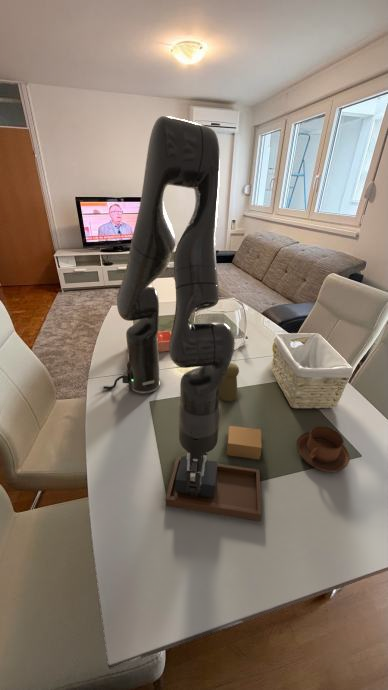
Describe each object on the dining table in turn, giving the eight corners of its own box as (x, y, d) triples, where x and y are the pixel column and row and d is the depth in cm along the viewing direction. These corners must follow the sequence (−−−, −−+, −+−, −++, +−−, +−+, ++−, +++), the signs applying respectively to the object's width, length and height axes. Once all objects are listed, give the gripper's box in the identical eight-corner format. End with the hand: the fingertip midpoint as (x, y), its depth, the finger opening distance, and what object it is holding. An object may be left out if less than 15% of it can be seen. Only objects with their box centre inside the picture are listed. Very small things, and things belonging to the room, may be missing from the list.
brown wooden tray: (165, 505, 61) (165, 499, 60) (176, 463, 70) (176, 457, 69) (260, 521, 59) (261, 514, 58) (258, 475, 68) (259, 469, 67)
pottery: (170, 339, 127) (169, 318, 122) (174, 350, 119) (174, 327, 114) (127, 343, 123) (125, 321, 118) (128, 354, 115) (126, 331, 110)
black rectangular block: (175, 492, 62) (175, 479, 60) (181, 468, 67) (181, 456, 66) (213, 498, 61) (214, 485, 59) (216, 474, 66) (217, 461, 65)
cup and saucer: (343, 485, 66) (350, 465, 63) (289, 461, 72) (294, 442, 69) (350, 449, 75) (357, 431, 72) (302, 430, 81) (306, 413, 78)
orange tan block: (226, 455, 73) (227, 443, 71) (227, 437, 78) (229, 425, 76) (259, 459, 72) (261, 447, 70) (258, 441, 77) (260, 429, 75)
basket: (267, 368, 108) (273, 331, 101) (311, 368, 109) (320, 331, 102) (289, 412, 87) (298, 370, 80) (342, 411, 88) (356, 369, 81)
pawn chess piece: (236, 402, 91) (240, 372, 86) (217, 399, 92) (219, 369, 87) (238, 390, 96) (241, 361, 91) (219, 388, 97) (221, 359, 92)
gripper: (186, 396, 63) (185, 453, 71) (171, 448, 50) (172, 510, 58) (221, 400, 62) (217, 457, 70) (215, 454, 49) (210, 516, 57)
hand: (196, 481), depth 64 cm, fingers closed on black rectangular block, 6 cm apart
